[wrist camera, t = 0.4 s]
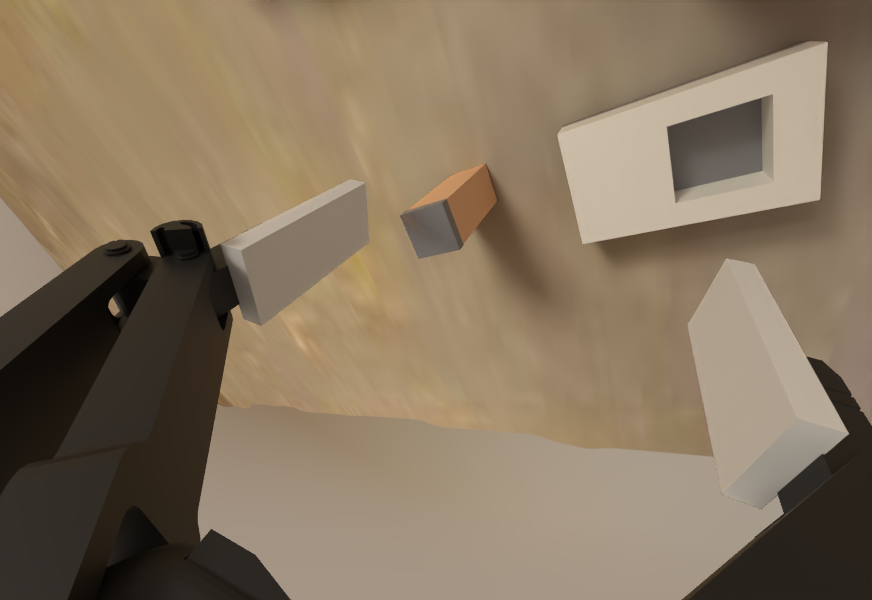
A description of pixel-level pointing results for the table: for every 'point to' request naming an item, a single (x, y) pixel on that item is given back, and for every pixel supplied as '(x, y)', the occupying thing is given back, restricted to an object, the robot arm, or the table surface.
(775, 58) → the socket plate
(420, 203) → the copper brown rectangular block
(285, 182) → the table surface
